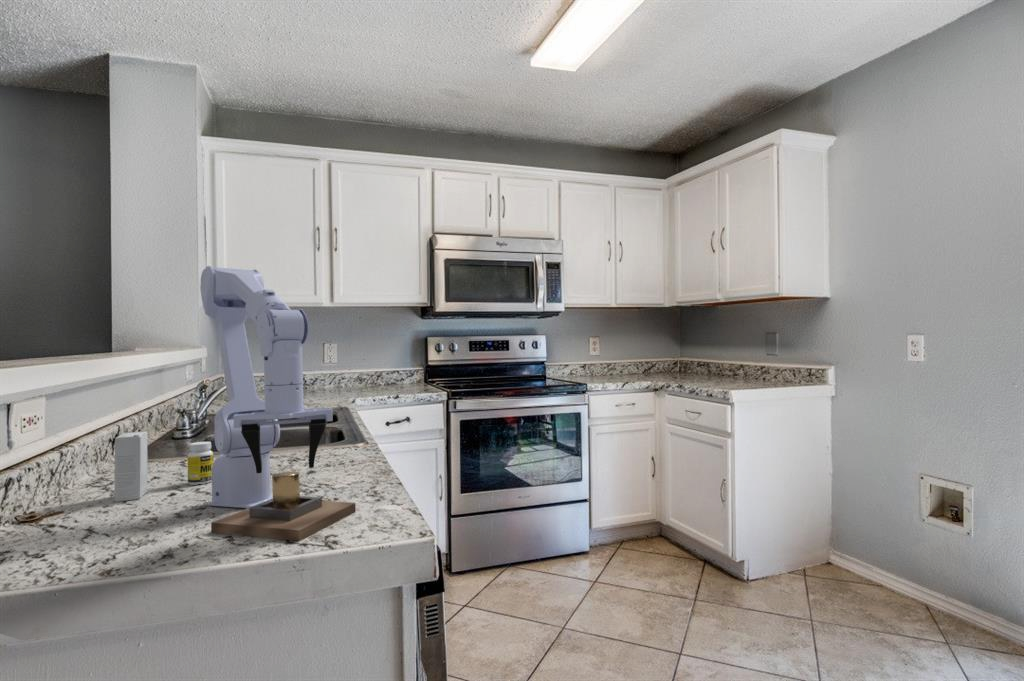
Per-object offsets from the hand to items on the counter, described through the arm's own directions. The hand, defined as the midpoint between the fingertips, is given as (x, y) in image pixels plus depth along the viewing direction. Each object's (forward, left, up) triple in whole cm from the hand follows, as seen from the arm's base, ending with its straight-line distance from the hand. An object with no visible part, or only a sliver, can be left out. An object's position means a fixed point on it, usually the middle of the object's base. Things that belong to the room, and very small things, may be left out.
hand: (285, 469), depth 87 cm
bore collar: (0, 0, -7) cm, 7 cm away
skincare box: (-41, +6, -9) cm, 42 cm away
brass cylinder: (0, 0, -7) cm, 7 cm away
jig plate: (0, 0, -8) cm, 8 cm away
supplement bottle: (-37, +18, -9) cm, 42 cm away
